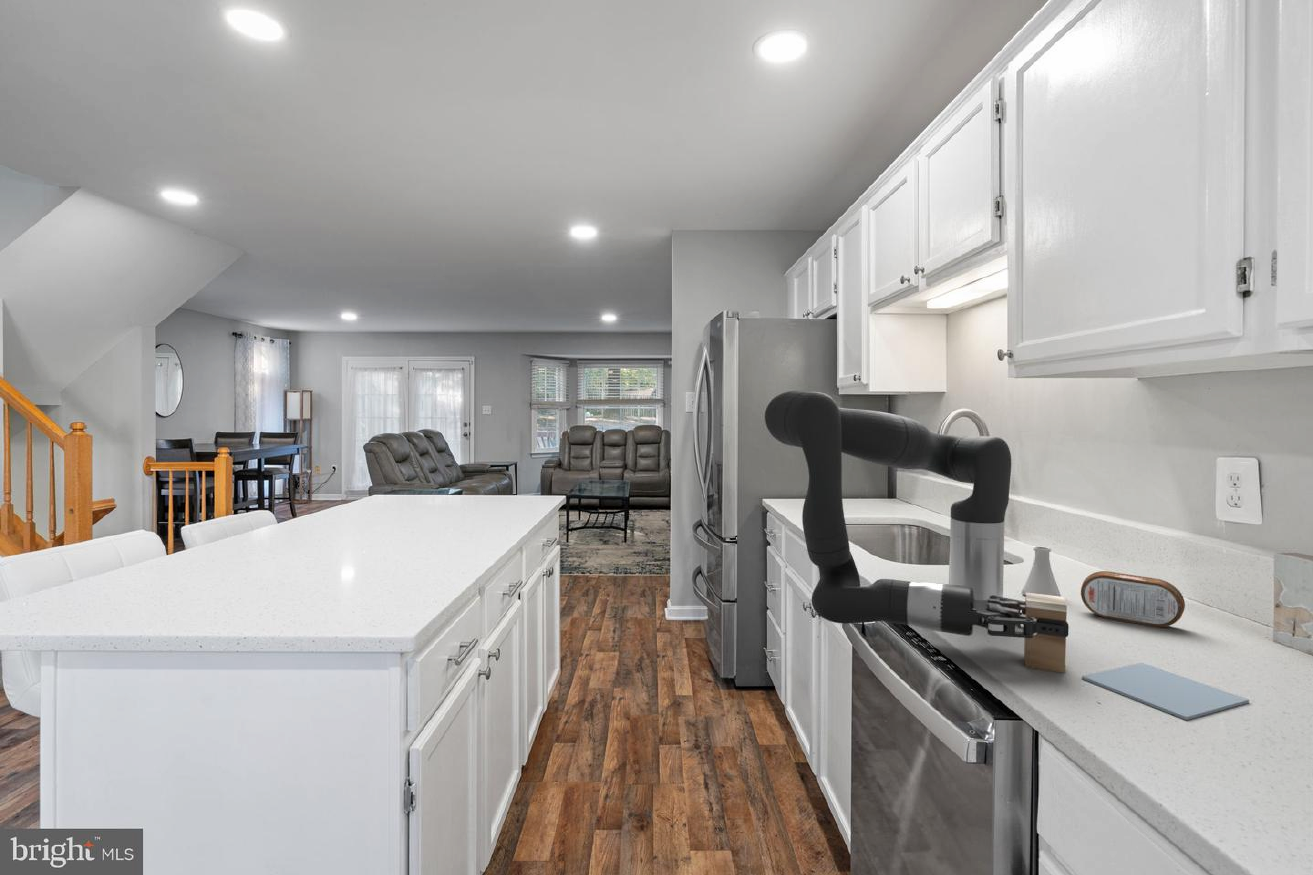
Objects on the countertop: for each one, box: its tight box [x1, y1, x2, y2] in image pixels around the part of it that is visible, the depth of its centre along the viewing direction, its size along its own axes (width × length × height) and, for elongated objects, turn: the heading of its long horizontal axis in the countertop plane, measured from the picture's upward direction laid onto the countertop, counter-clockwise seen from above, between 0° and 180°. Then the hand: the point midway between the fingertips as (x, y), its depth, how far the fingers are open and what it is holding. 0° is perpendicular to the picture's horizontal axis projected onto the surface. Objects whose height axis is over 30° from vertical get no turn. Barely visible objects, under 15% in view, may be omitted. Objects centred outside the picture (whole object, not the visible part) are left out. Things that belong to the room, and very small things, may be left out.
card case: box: [1023, 593, 1068, 674], centre depth 94 cm, size 4×5×10 cm
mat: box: [1081, 662, 1250, 721], centre depth 86 cm, size 13×13×1 cm
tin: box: [1080, 570, 1186, 628], centre depth 114 cm, size 15×3×8 cm, turn 48°
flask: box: [1021, 545, 1062, 597], centre depth 130 cm, size 7×7×10 cm
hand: (1066, 624), depth 93 cm, fingers closed on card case, 4 cm apart
